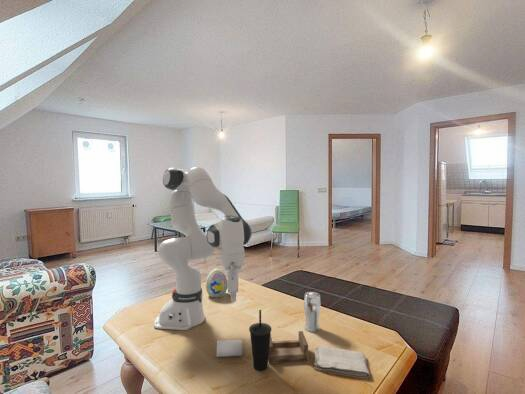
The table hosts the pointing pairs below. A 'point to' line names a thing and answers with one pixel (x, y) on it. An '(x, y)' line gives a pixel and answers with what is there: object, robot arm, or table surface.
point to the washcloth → (341, 362)
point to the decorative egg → (216, 283)
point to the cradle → (288, 350)
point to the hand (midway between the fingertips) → (233, 296)
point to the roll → (229, 348)
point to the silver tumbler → (312, 311)
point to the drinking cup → (260, 344)
